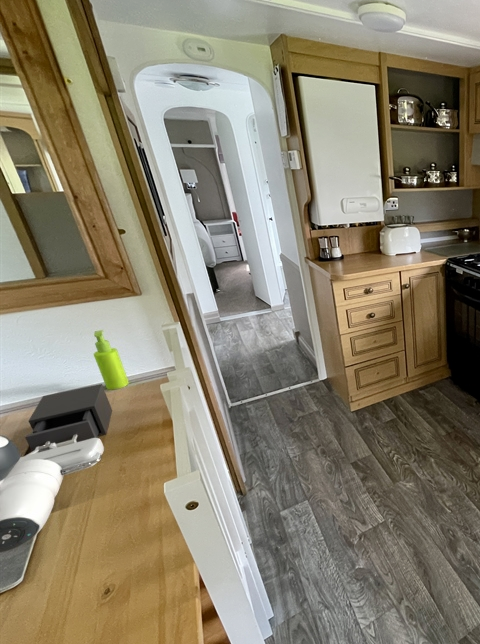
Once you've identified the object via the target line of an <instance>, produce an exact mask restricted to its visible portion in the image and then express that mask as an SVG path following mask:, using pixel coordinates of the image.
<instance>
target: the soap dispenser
mask: <svg viewBox="0 0 480 644" xmlns="http://www.w3.org/2000/svg"><path fill="white" fill-rule="evenodd" d="M103 334H104V329H102V330H96V331H94V334H93V336H94V338H96V340H97V341H96V342H94V345H95V348H96V350H97V351H95V352H93V357H94V359H95V362H96V364H97V367H98V369H99V372H100V374H101V377H102V379H103V380H102V381H103V383H104V385H105V387H106V389H107V390H110V391H111V390H112V391H113V390H118V389H122V388H125V387H126V386H128V385H129V384H130V383H129V379H128V376H127V374H126V373H127V372H126V370H125V368H124V365H123V363H122V360H121V357H120V354H119V352H118V349H117V348H114V347H111V344H110V342H109V340H108V339H107V340H106V339H105V338H104V335H103Z"/></svg>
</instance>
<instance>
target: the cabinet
mask: <svg viewBox="0 0 480 644" xmlns="http://www.w3.org/2000/svg"><path fill="white" fill-rule="evenodd" d="M89 409H92V411H93V414H94V416H95V418H96V421H97V423H98V425H99V428H100V429H99V433H98V436H97V438H99V437H102V436H105V435H107V432H108V429H109V425H110V422H111V418H112V417H111V416H112V414H113V409H112V406H111V404H110V401H109V398H108V395H107V393H106V391H105V388H104V386H103V383H100V384H95V385H90V386H86V387H81V388H76V389H72V390H70V389H69V390H66V391H61V392H57V393H51V394H47V395H43V396H42V397H41V399H40V401H39V402H38V404H37V405H36V406H35V409H34V410H33V412H32V414H31V415H30V417H29V419H28V423H29V425H30V427H31V429H32V431H33V430H34V428H35V426H36V424H37V422H38V421H42V420H46V419H50V418H55V417H59V416H63V415H68V414H72V413H76V412H81V411H85V410H89Z"/></svg>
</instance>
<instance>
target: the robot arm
mask: <svg viewBox="0 0 480 644" xmlns="http://www.w3.org/2000/svg"><path fill="white" fill-rule="evenodd" d="M104 451H105V447H104V444H103V442H102V440H101V439H100V438H99V437H97V438H91V439H88V440H84V441H80V442H77V443H73V444H69V445H65V446H61V447H57V446H56V444H55V443H51V444H47V445H43V446H39V447H36V449H35V451H33V452H32V451H31V452H29V453H28V454H26V455H24V456H21V451H20V450H19V448H18V447H17V445H16V444H15V443H14V441H12V440H11V439H10V438H8V437H7V436H4V435H1V434H0V554H1V553H5V552H9V551H13V550H14V549H15V550H16V549H17V548H19V547H21V546H23V545H25V544H26V543H28V542H29V541H30V540H32V539H33V538H35V537H36V535H38V534H39V532H40V531H41V530H42V529H43V528H44V526H45V525H46V523H47V521H48V519H49V518H50V515H51V512H52V510H53V508H54V504H55V498H56V497H57V495H58V494H59V490H60V488H61V485H62V482H63V480H64V477H65V476H66V475H70V474H74V473H77V472H80V471H84V470H86V469H89V468H91V467H94V466H95V465H96V464H97V463H98V462H100V461H101V459H102V456H103V454H104Z"/></svg>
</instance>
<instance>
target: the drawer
mask: <svg viewBox="0 0 480 644" xmlns="http://www.w3.org/2000/svg"><path fill="white" fill-rule="evenodd" d="M99 429H100V428H99V425H98V423H97V421H96V418H95V416H94V414H93V411H92V409H89V410H85V411H81V412H76V413H72V414H68V415H63V416H59V417H55V418H50V419H46V420H42V421H38V422H37V424H36V426H35V428H34V430H33V429H32V433H28V434H26V435H25V437H24V438H25V441H26V442H27V444H28V446H29V448H30V450H31V452H33V451H35V449H36V447H39V446H43V445H47V444H51V443H55V444H56V446H57V447H61V446H65V445H69V444H73V443H77V442H80V441H84V440H88V439H91V438H98V437H99V436H98V433H99ZM97 436H98V437H97Z"/></svg>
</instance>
